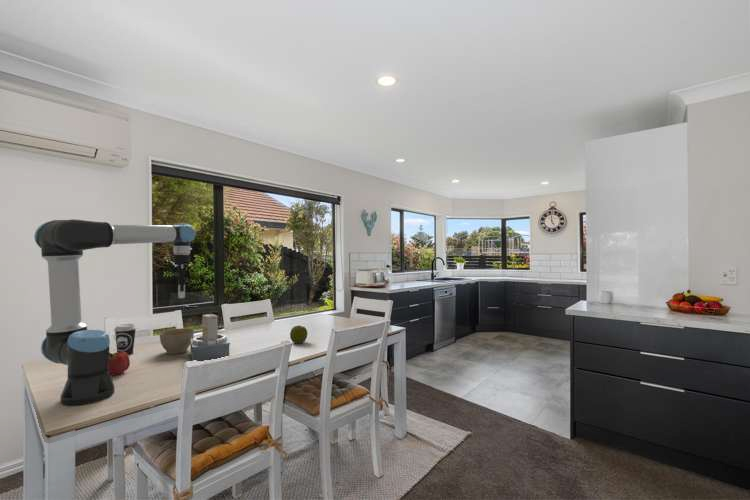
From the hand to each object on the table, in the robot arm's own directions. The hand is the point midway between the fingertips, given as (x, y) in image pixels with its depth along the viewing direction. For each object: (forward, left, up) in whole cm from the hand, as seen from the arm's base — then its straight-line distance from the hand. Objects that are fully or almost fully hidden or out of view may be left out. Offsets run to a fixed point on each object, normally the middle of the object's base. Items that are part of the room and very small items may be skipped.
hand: (181, 296), depth 174 cm
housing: (-5, -13, -31) cm, 33 cm away
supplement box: (-7, -13, -23) cm, 27 cm away
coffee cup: (+20, +24, -31) cm, 44 cm away
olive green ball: (-2, -61, -31) cm, 68 cm away
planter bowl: (+12, +1, -31) cm, 33 cm away
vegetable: (-13, +25, -31) cm, 42 cm away
